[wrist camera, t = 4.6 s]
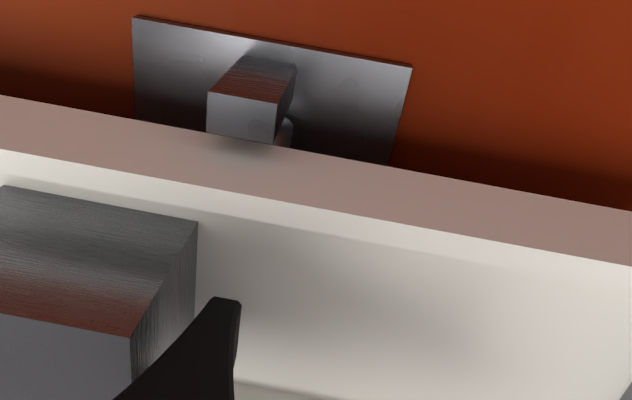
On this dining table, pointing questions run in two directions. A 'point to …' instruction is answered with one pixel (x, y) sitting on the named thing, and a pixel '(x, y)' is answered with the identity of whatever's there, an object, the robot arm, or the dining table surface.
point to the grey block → (88, 294)
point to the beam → (360, 262)
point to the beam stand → (267, 90)
